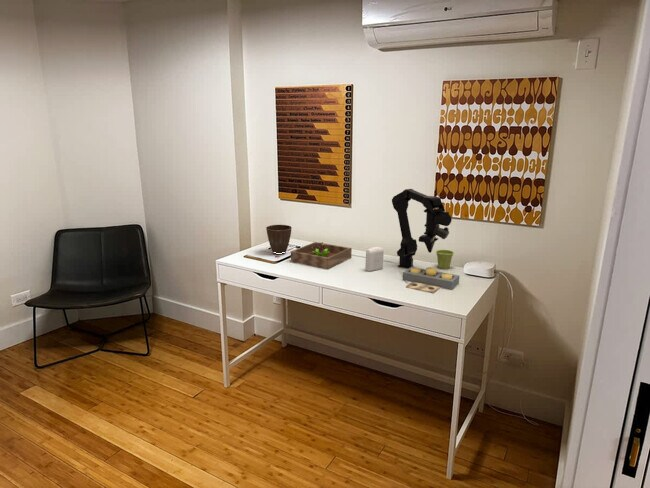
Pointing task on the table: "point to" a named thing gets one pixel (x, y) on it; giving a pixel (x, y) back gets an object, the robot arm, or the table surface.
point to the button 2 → (431, 271)
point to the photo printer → (374, 259)
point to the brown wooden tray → (319, 261)
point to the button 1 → (415, 270)
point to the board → (431, 279)
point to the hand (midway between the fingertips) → (429, 252)
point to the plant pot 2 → (444, 258)
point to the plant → (321, 251)
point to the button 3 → (447, 276)
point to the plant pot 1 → (279, 238)
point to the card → (422, 287)
